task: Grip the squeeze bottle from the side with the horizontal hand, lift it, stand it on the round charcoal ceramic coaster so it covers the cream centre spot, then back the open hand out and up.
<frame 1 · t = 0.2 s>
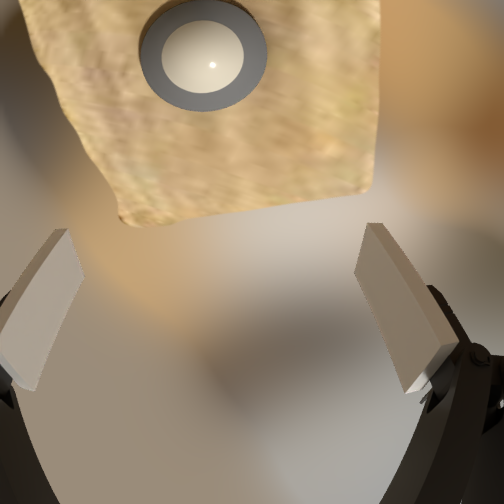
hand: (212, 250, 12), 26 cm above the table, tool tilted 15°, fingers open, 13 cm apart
coaster: (203, 55, 28), on the table
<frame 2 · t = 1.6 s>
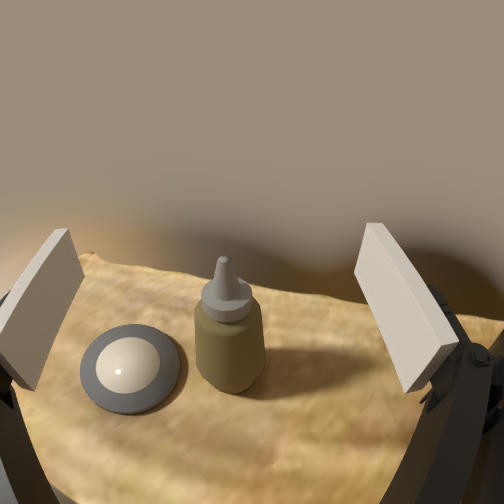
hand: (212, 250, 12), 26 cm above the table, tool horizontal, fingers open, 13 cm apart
coaster: (129, 368, 35), on the table
squeeze bottle: (231, 375, 35), on the table
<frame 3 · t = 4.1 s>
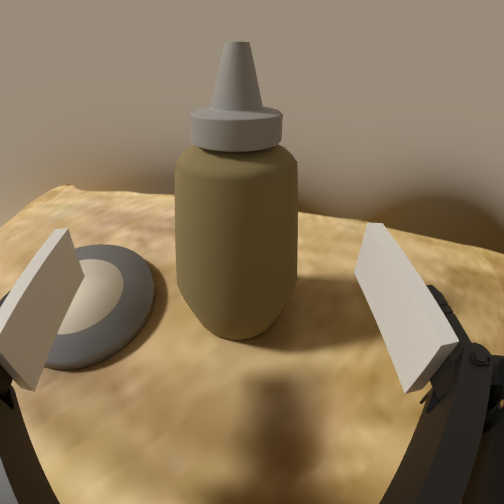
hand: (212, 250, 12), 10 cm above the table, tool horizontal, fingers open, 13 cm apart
coaster: (78, 301, 22), on the table
squeeze bottle: (237, 312, 23), on the table
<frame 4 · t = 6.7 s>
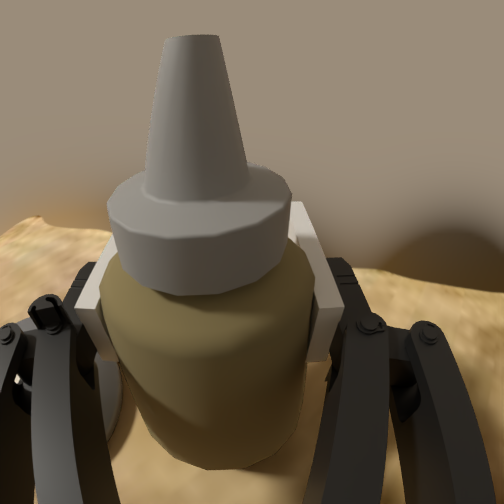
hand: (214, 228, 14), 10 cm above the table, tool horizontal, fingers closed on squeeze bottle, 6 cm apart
coaster: (37, 391, 15), on the table
squeeze bottle: (224, 422, 16), on the table, touching gripper
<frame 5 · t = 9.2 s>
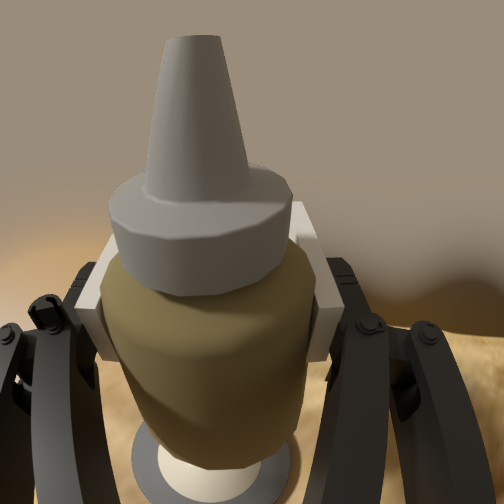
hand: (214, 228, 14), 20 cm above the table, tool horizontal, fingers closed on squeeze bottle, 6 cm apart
coaster: (209, 459, 22), on the table
squeeze bottle: (224, 422, 16), point 10 cm above the table, touching gripper
when the fingers open (13 cm above the table, at t = 12.0 s): squeeze bottle drops 1 cm, resting on coaster.
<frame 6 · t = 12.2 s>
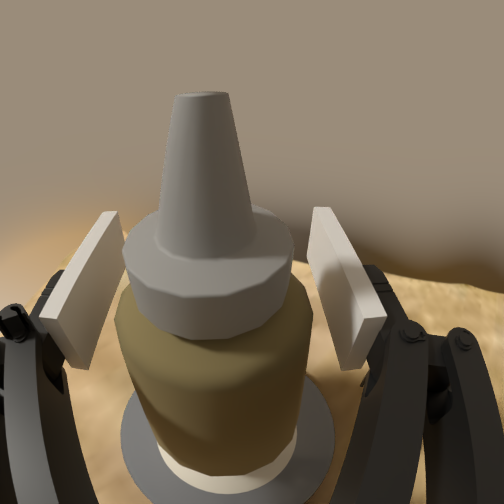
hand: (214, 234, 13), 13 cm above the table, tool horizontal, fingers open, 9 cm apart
coaster: (226, 434, 17), on the table
squeeze bottle: (225, 430, 17), point 1 cm above the table, touching coaster
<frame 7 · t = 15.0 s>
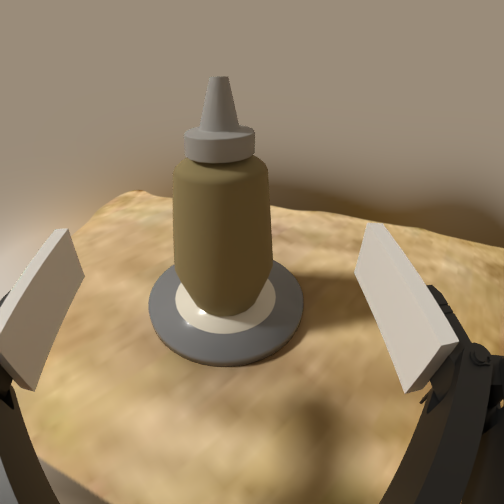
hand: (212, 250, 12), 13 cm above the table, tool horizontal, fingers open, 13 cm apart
coaster: (225, 302, 27), on the table
squeeze bottle: (225, 295, 27), point 1 cm above the table, touching coaster
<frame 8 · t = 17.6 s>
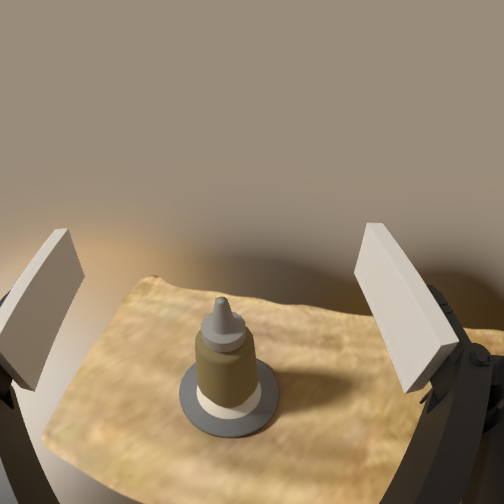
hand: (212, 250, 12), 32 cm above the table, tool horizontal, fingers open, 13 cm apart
coaster: (229, 394, 39), on the table
squeeze bottle: (228, 391, 39), point 1 cm above the table, touching coaster
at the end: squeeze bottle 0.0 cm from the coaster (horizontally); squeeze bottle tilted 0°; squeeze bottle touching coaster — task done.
